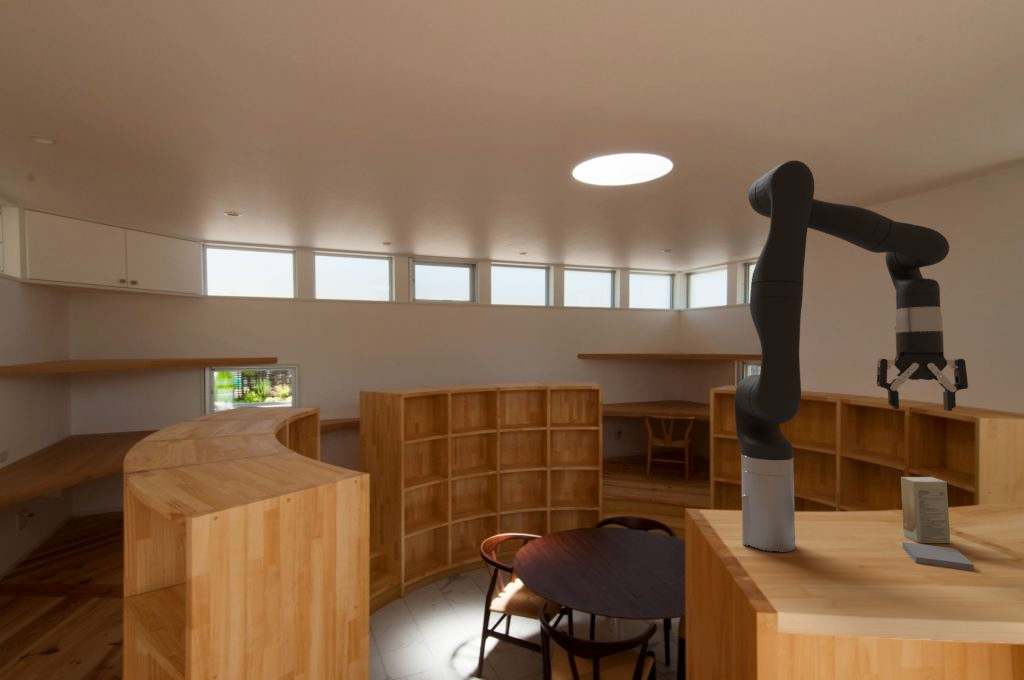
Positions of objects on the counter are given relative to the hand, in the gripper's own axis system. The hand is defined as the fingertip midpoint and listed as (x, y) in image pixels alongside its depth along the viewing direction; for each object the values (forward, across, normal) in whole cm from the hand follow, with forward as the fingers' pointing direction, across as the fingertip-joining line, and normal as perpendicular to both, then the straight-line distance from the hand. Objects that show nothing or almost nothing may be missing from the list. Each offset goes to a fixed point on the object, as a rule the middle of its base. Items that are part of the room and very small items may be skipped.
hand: (921, 409), depth 101 cm
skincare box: (+26, 0, 0) cm, 26 cm away
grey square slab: (+26, -2, -11) cm, 28 cm away
